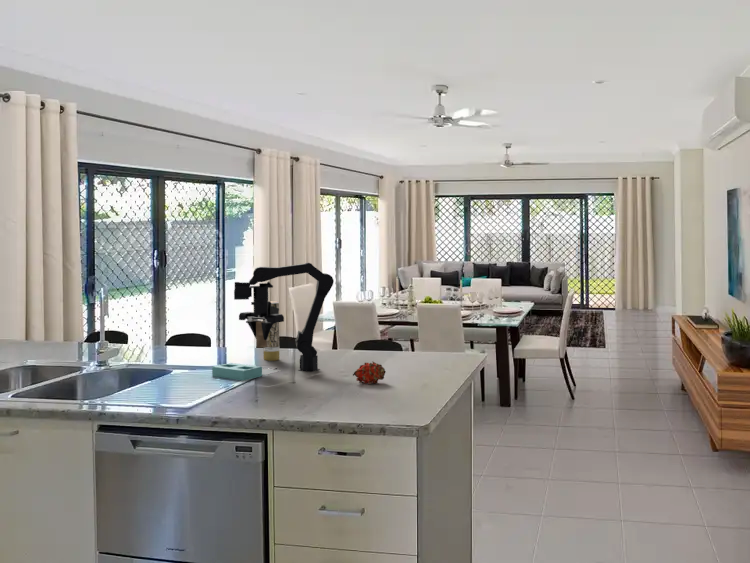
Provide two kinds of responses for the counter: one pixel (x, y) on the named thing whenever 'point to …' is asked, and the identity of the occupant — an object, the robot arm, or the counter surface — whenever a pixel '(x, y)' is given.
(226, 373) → the hole block
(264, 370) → the rubber mat
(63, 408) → the counter surface
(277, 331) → the paper tube
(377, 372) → the dragon fruit
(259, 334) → the walnut peg
